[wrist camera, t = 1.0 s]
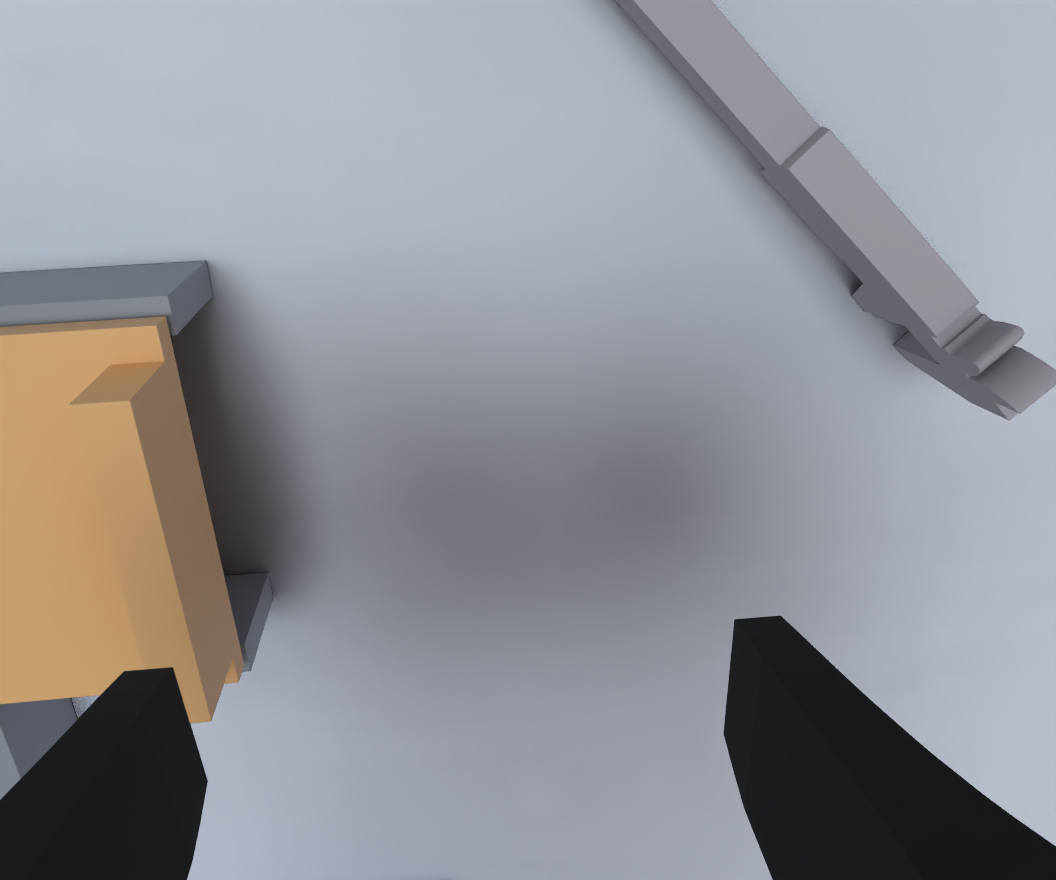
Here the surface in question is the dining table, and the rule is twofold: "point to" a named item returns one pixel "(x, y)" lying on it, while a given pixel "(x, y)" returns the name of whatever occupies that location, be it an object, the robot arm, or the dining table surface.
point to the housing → (93, 295)
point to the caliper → (848, 212)
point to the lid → (105, 519)
